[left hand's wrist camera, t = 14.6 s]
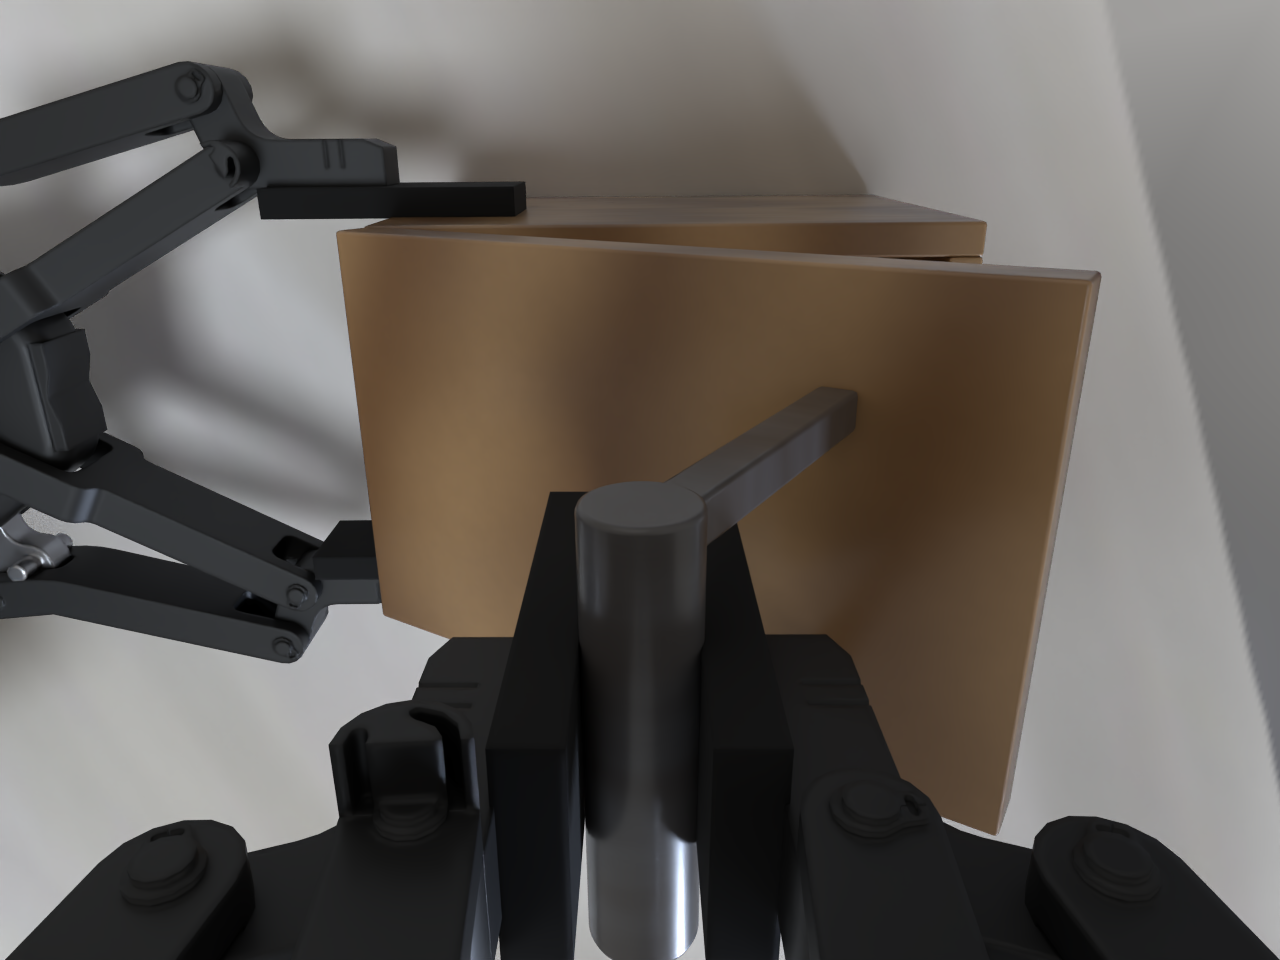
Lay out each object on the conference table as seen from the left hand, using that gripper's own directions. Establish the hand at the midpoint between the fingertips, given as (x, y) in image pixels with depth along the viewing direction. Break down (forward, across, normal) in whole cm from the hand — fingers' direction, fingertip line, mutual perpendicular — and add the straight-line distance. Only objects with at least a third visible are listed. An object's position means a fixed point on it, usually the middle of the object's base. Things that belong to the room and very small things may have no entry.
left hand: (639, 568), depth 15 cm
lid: (+4, 0, 0) cm, 4 cm away
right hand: (+12, +3, 0) cm, 12 cm away
